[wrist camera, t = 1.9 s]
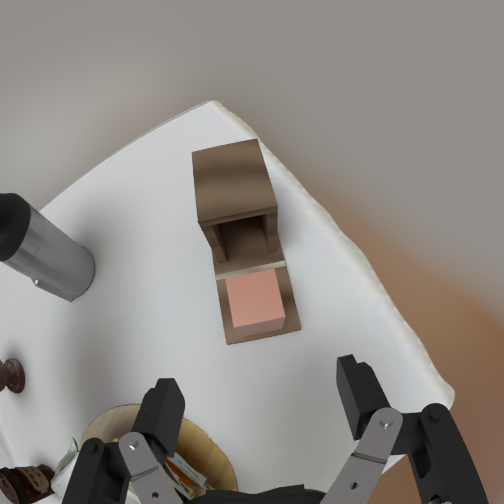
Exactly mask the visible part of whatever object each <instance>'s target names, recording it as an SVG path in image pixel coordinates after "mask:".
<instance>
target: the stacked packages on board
mask: <svg viewBox="0 0 504 504" xmlns="http://www.w3.org/2000/svg"><path fill="white" fill-rule="evenodd" d="M140 406H141V405H128V406H121V407H117V408H113V409H110V410H108V411H106V412H104V413H102V414H101V415H99V416H98V417H96V418H95V419H94V420H93V421H92V422H91V423H90V424H89V426H88V427H87V429H86V430H85V432H84V434H83V436H82V439H81V443H80V448H79V451H78V446H77V443H76V441H75V439H74V438H72V440H71V446H70V449H69V451H68V453H67V454H66V456H65V457H64V458H63V459H62V460H61V461H60V462H59V463H58V466H57V469H56V472H55V475H54V477H53V479H52V480H51V488H52V490H53V491H54V492H55V493H56V494H57V495H58V496H60V497H61V498H62V499H63V498H64V494H65V491H66V488H67V485H68V482H69V479H70V477H71V474H72V471H73V468H74V465H75V463H76V460H77V457H78V455H79V452H80V449H81V447H82V445H83V443H84V442H85V441H86V440H87V439H89V438H93V437H96V438H99V439H101V440H102V441H103V442H104V443H110V442H117V441H120V439H121V438H122V436H124V435H125V434H127V433H129V432H131V430H132V427H133V424H134V422H135V419H136V416H137V414H138V411H139V410H140V409H139V408H140ZM165 462H166V463H167V464H168V466H169V468H170V469H171V471H172V472H173V474H174V475H175V477H176V478H177V480H178V481H179V483H180V484H181V486H182V487H183V489H184V490H185V491H186V492H187V493H188V494H189V496H190V497H191V498H195V497H197V496H201V495H205V493H206V489H207V490H232V491H236V492H237V483H236V478H235V474H234V471H233V469H232V466H231V464H230V462H229V460H228V458H227V457H226V455H225V454H224V453H223V452H222V451H221V450H220V449H219V447H218V446H217V445H215V444H214V442H213V441H212V440H211V438H210V439H209V437H208V435H207V434H205V432H204V431H203V430H202V429H200V428H199V427H198V426H196V425H195V424H193V423H192V422H190V421H188V420H187V419H185V418H183V419H182V423H181V427H180V432H179V436H178V441H177V445H176V450H175V454H174V458H168V457H166V459H165ZM125 504H141V502H140V501H139V499H138V497H137V495H136V493H135V491H134V489H133V487H132V485H131V482H130V483H129V487H128V492H127V497H126V502H125Z"/></svg>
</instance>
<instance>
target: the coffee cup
mask: <svg viewBox="0 0 504 504" xmlns="http://www.w3.org/2000/svg"><path fill="white" fill-rule="evenodd" d="M54 475H55V474H54V473H53V471H52V470H51V469H50V468H48V467H47V466H45V465H39V466H38V467H34V466H28V467H15V468H14V469H12V468H11V469H8V468H7V467H4V468H2V469H0V489H1V490H2V492H3V493H4V495H5V496H6V497H7V498H8V499H9V500H10V501H11V502H12V503H14V504H32V503H35V502H37V501H39V500H41V499H44V498H46V497H48V496H49V495H52V494H54V493H55V492H54V491H53V490H52V488H51V480H52V479H53V477H54Z"/></svg>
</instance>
